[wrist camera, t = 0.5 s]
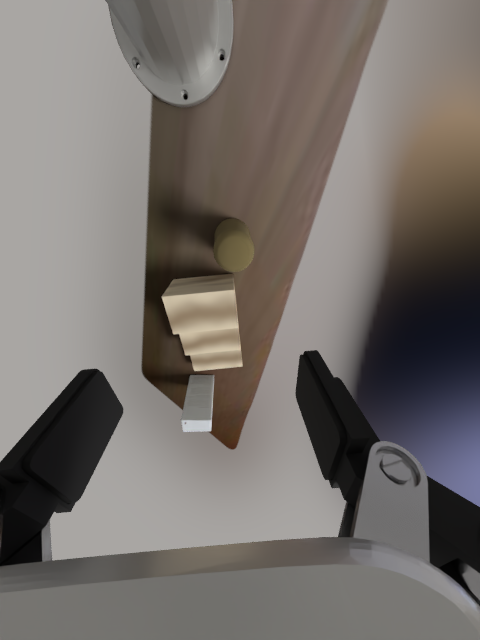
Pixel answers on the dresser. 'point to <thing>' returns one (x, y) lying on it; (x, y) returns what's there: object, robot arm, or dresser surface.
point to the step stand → (205, 320)
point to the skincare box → (198, 404)
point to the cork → (233, 245)
